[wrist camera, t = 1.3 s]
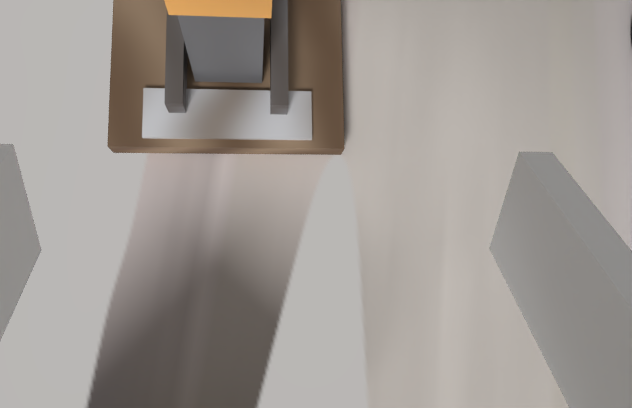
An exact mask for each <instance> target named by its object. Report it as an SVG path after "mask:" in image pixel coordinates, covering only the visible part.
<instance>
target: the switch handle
mask: <svg viewBox="0 0 632 408" xmlns="http://www.w3.org/2000/svg"><path fill="white" fill-rule="evenodd" d="M164 1H165V4H166V8H167V11H168V14H169V15H177V16H178V20H179V23H180V27H181V31H182V35H183V38H184V42H185V46H186V49H187V53H188V57H189V61H190V64H191V68H192V72H193V75H194V79H195V82H234V83H262V69H263V42H264V18H271V14H272V0H164Z"/></svg>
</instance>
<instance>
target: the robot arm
mask: <svg viewBox="0 0 632 408" xmlns="http://www.w3.org/2000/svg"><path fill="white" fill-rule="evenodd" d="M631 37H632V28H631ZM489 249H490V251H491V253H492V255H493V257H494V259H495V261H496V263H497V265H498V267H499V269H500V271H501V273H502V275H503V277H504V279H505V281H506V283H507V285H508V287H509V288H510V290H511V292H512V294H513V296H514V298H515V300H516V302H517V304H518V306H519V308H520V310H521V312H522V314H523V316H524V318H525V320H526V322H527V324H528V326H529V328H530V330H531V332H532V334H533V336H534V338H535V340H536V342H537V344H538V346H539V348H540V350H541V352H542V354H543V356H544V358H545V360H546V362H547V364H548V366H549V368H550V370H551V372H552V374H553V376H554V378H555V380H556V382H557V384H558V386H559V388H560V390H561V392H562V394H563V396H564V398H565V400H566V402H567V404H568V406H569V408H632V251H631V250H630V249H629V247H628V246H627V245H626V244H625V242H624V241H623V240H622V239H621V237H620V236H619V235H618V234H617V232H616V231H615V230H614V229H613V227H612V226H611V225H610V224H609V222H608V221H607V220H606V219H605V217H604V216H603V215H602V214H601V212H600V211H599V210H598V209H597V207H596V206H595V205H594V204H593V202H592V201H591V200H590V199H589V197H588V196H587V195H586V194H585V193H584V191H583V190H582V189H581V188H580V186H579V185H578V184H577V183H576V181H575V180H574V179H573V178H572V176H571V175H570V174H569V173H568V171H567V170H566V169H565V168H564V166H563V165H562V164H561V163H560V161H559V160H558V159H557V158H556V156H555V155H554V154H553V153H552V152H519V154H518V157H517V161H516V164H515V167H514V170H513V173H512V177H511V180H510V183H509V186H508V190H507V193H506V196H505V199H504V203H503V206H502V209H501V212H500V216H499V219H498V222H497V225H496V228H495V232H494V235H493V238H492V241H491V245H490V248H489ZM40 252H41V247H40V243H39V240H38V236H37V232H36V228H35V224H34V220H33V217H32V214H31V209H30V206H29V202H28V198H27V194H26V190H25V187H24V183H23V179H22V175H21V171H20V168H19V164H18V160H17V156H16V153H15V149H14V145H13V144H0V340H1V338H2V336H3V334H4V331H5V329H6V327H7V324H8V323H9V320H10V318H11V316H12V314H13V311H14V309H15V307H16V305H17V303H18V300H19V298H20V296H21V294H22V292H23V289H24V287H25V285H26V283H27V281H28V278H29V276H30V273H31V272H32V269H33V267H34V265H35V263H36V261H37V258H38V256H39V254H40Z"/></svg>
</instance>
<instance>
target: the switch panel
mask: <svg viewBox="0 0 632 408" xmlns="http://www.w3.org/2000/svg"><path fill="white" fill-rule="evenodd" d="M110 76H111V77H110V100H109V124H108V125H109V126H108V147H109V148H110V149H111V150H112V151H113V152H114V153H217V154H330V155H341V153H342V152H343V150H344V113H343V73H342V33H341V0H272V14H271V18H264V42H263V69H262V83H234V82H195V79H194V75H193V72H192V68H191V64H190V61H189V57H188V53H187V49H186V46H185V42H184V38H183V35H182V31H181V27H180V23H179V20H178V16H177V15H169V14H168V11H167V8H166V4H165V1H164V0H114V1H113V27H112V51H111V75H110Z"/></svg>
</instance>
